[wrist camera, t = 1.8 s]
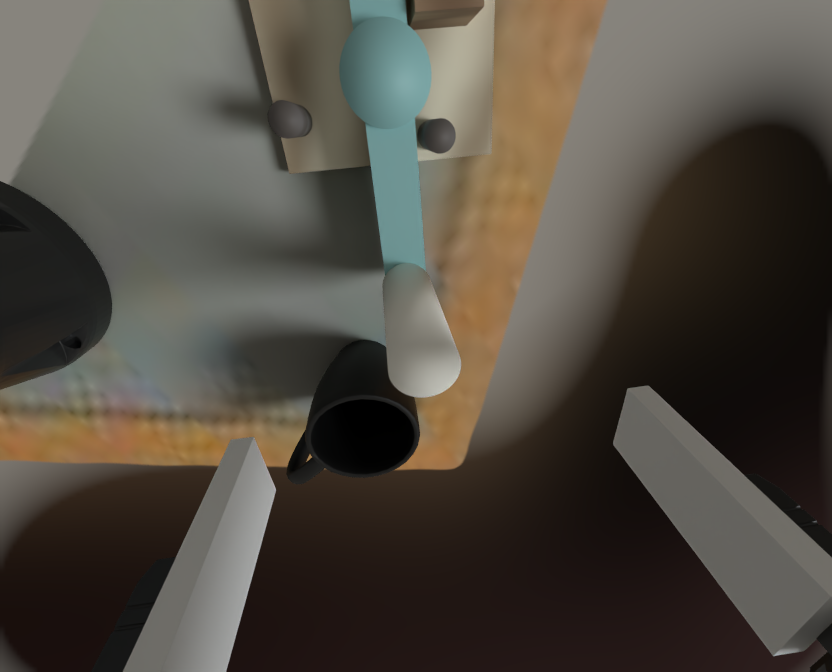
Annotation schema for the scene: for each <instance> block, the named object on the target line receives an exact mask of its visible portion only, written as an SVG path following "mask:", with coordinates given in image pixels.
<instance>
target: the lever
mask: <svg viewBox="0 0 832 672" xmlns="http://www.w3.org/2000/svg"><path fill="white" fill-rule="evenodd" d="M349 1H350V9H351V17H352V24H353V31H352V32H351V34H350V35H349V37H348V38H347V40H346V42H345V44H344V47H343V50H342V53H341V57H340V65H339V74H340V82H341V87H342V90H343V93H344V96H345V98H346V100H347V102H348V104H349V106H350V107H351V109H352V110H353V111H354V113H355V114H356V115H357V116H358V117H359V118H361V119H362V120H363V121H364V122H365V125H366V133H367V140H368V148H369V156H370V163H371V171H372V179H373V186H374V194H375V202H376V209H377V217H378V225H379V232H380V240H381V248H382V255H383V263H384V271H385V277H384V280H383V285H382V288H383V303H384V318H385V333H386V348H387V364H388V375H389V378H390V381H391V382H392V384H393V385H394V386H395V387H396V388H397V389H398V390H399V391H401V392H402V393H404V394H406V395H409V396H413V397H430V396H434V395H437V394H440V393H442V392H443V391H445V390H447V389H448V388H449V387H450V386H452V384H453V383H454V382H455V381H456V379H457V378H458V376H459V373H460V370H461V359H460V355H459V353H458V350H457V348H456V345H455V342H454V340H453V337H452V335H451V332H450V329H449V327H448V324H447V322H446V319H445V316H444V314H443V311H442V309H441V306H440V303H439V301H438V298H437V296H436V293H435V290H434V288H433V285H432V283H431V280H430V278H429V275H428V274H427V272H426V268H425V254H424V240H423V225H422V211H421V197H420V183H419V169H418V154H417V140H416V126H415V117H416V116H417V115H418V114H419V113H420V112H421V110H422V108H423V107H424V105H425V103H426V101H427V98H428V95H429V92H430V87H431V64H430V59H429V56H428V53H427V50H426V48H425V45H424V43H423V42H422V40H421V38H420V37H419V36H418V34H417V33H416V32H415V31H414V30H413V29H412V28H411V27H410V26H408V25H407V16H406V2H405V0H349Z"/></svg>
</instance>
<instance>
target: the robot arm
mask: <svg viewBox="0 0 832 672" xmlns="http://www.w3.org/2000/svg"><path fill="white" fill-rule="evenodd" d="M111 314H112V300H111V293H110V289H109V286H108V282H107V280H106V277H105V275H104V272H103V270H102V268H101V266H100V265H99V263H98V261H97V260H96V258H95V256H94V255H93V253H92V252H91V251H90V249H89V248H88V247H87V245H86V244H85V243H84V242H83V240H82V239H81V238H80V237H79V236H78V235H77V234H76V233H75V232H74V231H73V230H72V229H71V228H70V227H69V226H68V225H67V224H66V223H65V222H64V221H63V220H62V219H60V218H59V217H58V216H57V215H56V214H54V213H53V212H52V211H51V210H49V209H48V208H47V207H45V206H44V205H42V204H41V203H39V202H38V201H36V200H35V199H33V198H32V197H30V196H28V195H27V194H25V193H23V192H21V191H20V190H18V189H16V188H14V187H12V186H10V185H8V184H5V183H3V182H1V181H0V390H1V389H4V388H7V387H10V386H13V385H16V384H19V383H22V382H25V381H28V380H31V379H34V378H37V377H40V376H43V375H46V374H49V373H52V372H54V371H57V370H60V369H62V368H64V367H66V366H67V365H69V364H71V363H73V362H74V361H76V360H77V359H78V358H80V357H81V356H82V355H83V354H85V353H86V352H87V351H89V350H90V349H91V348H92V347H94V346H95V345H96V344H97V343H98V342H99V341H100V340H101V339H102V337H103V336H104V334H105V332H106V331H107V329H108V326H109V323H110V319H111ZM613 445H614V446H615V447H616V448H617V450H618V451H619V453H620V454H621V455H622V456H623V457H624V459H625V460H626V462H627V463H628V464H629V466H630V467H631V468H632V470H633V471H634V472H635V474H636V475H637V476H638V478H639V479H640V480H641V482H642V483H643V484H644V486H645V487H646V488H647V490H648V491H649V492H650V493H651V495H652V496H653V498H654V499H655V500H656V501H657V503H658V504H659V505H660V507H661V508H662V509H663V511H664V512H665V513H666V515H667V516H668V517H669V519H670V520H671V521H672V523H673V524H674V525H675V526H676V528H677V529H678V530H679V532H680V533H681V534H682V536H683V537H684V538H685V540H686V541H687V542H688V544H689V545H690V546H691V548H692V549H693V550H694V552H695V553H696V554H697V556H698V557H699V558H700V560H701V561H702V562H703V564H704V565H705V566H706V567H707V569H708V570H709V572H710V573H711V574H712V576H713V577H714V578H715V579H716V581H717V582H718V583H719V585H720V586H721V587H722V589H723V590H724V591H725V593H726V594H727V595H728V597H729V598H730V599H731V601H732V602H733V603H734V605H735V606H736V607H737V608H738V610H739V611H740V613H741V614H742V615H743V616H744V618H745V619H746V620H747V622H748V623H749V624H750V626H751V627H752V628H753V629H754V631H755V632H756V633H757V635H758V636H759V638H760V639H761V640H762V641H763V643H764V644H765V646H766V647H767V648H768V649H769V651H770V652H771V653H772V655H773V656H776V655H782V654H788V653H794V652H800V651H805V650H806V649H807V648H808V647H809V646H810V645H811V644H812V643H813V642H814V641H815V640H816V639H817V640H818V641H819V642H820V643H821V644H822V646H823V647H824V648H825V649H826V650H827V651H828V652H827V653H826V654H825V655H824V656H822V657H821V658H820V659H819V660H818V661H817V662H815V663H814V664H813V665H812V666H811V667H810V672H832V534H831V533H829V531H827V530H826V529H825V528H824V527H823V526H822V525H818V524H817V521H816V520H815V519H814V518H813V517H812V516H811V515H809V514H808V513H807V512H806V511H805V510H802V509H801V508H800V506H799V505H798V504H797V503H796V502H795V501H794V500H792V499H791V498H790V497H789V496H788V495H787V494H786V493H784V492H783V491H782V490H781V489H780V488H779V487H777V486H775V485H774V484H772V483H770V482H769V481H767V480H765V479H764V478H761V477H760V476H759V475H757V474H750V475H743V474H742V473H741V472H740V471H739V470H738V469H737V468H736V467H735V466H733V465H732V464H731V463H730V462H729V461H728V460H727V459H726V458H725V457H724V456H723V455H722V454H721V453H720V452H718V450H716V449H715V448H714V447H713V446H712V445H711V444H710V443H709V442H708V441H707V440H706V439H705V438H704V437H703V436H702V435H700V434H699V433H698V432H697V431H696V430H695V429H694V428H693V427H692V426H691V425H690V424H689V423H688V422H687V421H686V420H684V419H683V418H682V417H681V416H680V415H679V414H678V413H677V412H676V411H675V410H674V409H672V407H671V406H670V405H668V404H667V403H666V402H665V401H664V400H663V399H662V398H661V397H660V396H659V395H658V394H657V393H656V392H654V390H652V389H651V388H650V387H649V386H643V387H636V388H628V389H627V393H626V397H625V401H624V405H623V408H622V412H621V416H620V419H619V423H618V427H617V431H616V435H615V438H614V442H613ZM275 492H276V489H275V486H274V484H273V481H272V479H271V477H270V474H269V472H268V470H267V467H266V465H265V462H264V460H263V458H262V455H261V453H260V451H259V448H258V446H257V443H256V441H255V439H254V437H249V438H241V439H234V440H231V441H230V443H229V445H228V447H227V449H226V451H225V454H224V456H223V458H222V460H221V462H220V464H219V466H218V469H217V471H216V473H215V475H214V477H213V479H212V482H211V484H210V486H209V488H208V490H207V492H206V495H205V496H204V499H203V501H202V503H201V505H200V508H199V510H198V511H197V514H196V516H195V518H194V520H193V522H192V524H191V526H190V529H189V531H188V533H187V535H186V537H185V539H184V542H183V544H182V546H181V548H180V550H179V552H178V554H177V557H173V558H166V559H159V560H157V561H156V562H155V563H154V564H153V565H152V566H151V568H150V569H149V570H148V571H147V572H146V573H145V575H144V576H143V577H142V578H141V579H140V580H139V582H138V583H137V585H136V587H135V589H134V591H133V593H132V595H131V597H130V599H129V601H128V602H127V604H126V609H125V611H123V612H122V614H121V616H120V618H119V620H118V621H117V623H116V626H115V630H114V632H112V633H111V635H110V637H109V639H108V641H107V642H106V644H105V646H104V648H103V650H102V652H101V654H100V656H99V658H98V660H97V661H96V664H95V665H94V667H93V669H92V671H91V672H226V669H227V666H228V662H229V659H230V655H231V651H232V648H233V644H234V640H235V637H236V633H237V629H238V625H239V622H240V618H241V615H242V611H243V608H244V604H245V600H246V597H247V593H248V590H249V586H250V582H251V579H252V575H253V571H254V568H255V564H256V561H257V557H258V553H259V549H260V546H261V542H262V539H263V535H264V531H265V528H266V524H267V521H268V517H269V513H270V510H271V506H272V503H273V499H274V495H275Z"/></svg>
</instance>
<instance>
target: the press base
mask: <svg viewBox="0 0 832 672" xmlns="http://www.w3.org/2000/svg"><path fill="white" fill-rule="evenodd" d="M405 2H406V0H405ZM249 4H250V8H251V13H252V17H253V21H254V25H255V30H256V34H257V38H258V42H259V46H260V51H261V55H262V59H263V63H264V68H265V72H266V76H267V80H268V85H269V89H270V93H271V97H272V102H273V104H272V105H271V106H270V108H269V111H268V122H269V124H270V127H271V128H272V130H273V131H274V132H275V133H276V134H277V135H278V136H280V137H281V140H282V144H283V148H284V152H285V157H286V161H287V165H288V169H289V174H293V173H303V172H313V171H323V170H334V169H344V168H354V167H364V166H371V163H370V156H369V148H368V140H367V133H366V125H365V122H364V121H363V120H362V119H361V118H359V117H358V116H357V115H356V114H355V113H354V111H353V110H352V109H351V107H350V106H349V104H348V102H347V100H346V98H345V96H344V93H343V90H342V87H341V82H340V74H339V65H340V57H341V53H342V50H343V47H344V44H345V42H346V40H347V38H348V37H349V35H350V34H351V32H352V31H353V24H352V17H351V9H350V1H349V0H249ZM494 10H495V0H484V7H483V8H482V9H481V11H480V12H479V13H478V14H477V15H476V16H475V17H474V18H473V19H472V20H471V21H470V22H469V23H468V25H467V26H457V27H445V28H432V29H420V30H414V31H415V32H416V33H417V34H418V36H419V37H420V38H421V40H422V42H423V43H424V45H425V48H426V50H427V53H428V56H429V59H430V64H431V87H430V92H429V95H428V98H427V101H426V103H425V105H424V107H423V108H422V110H421V112H420V113H419V114H418V115H417V116H416V117H415V126H416V140H417V154H418V161H425V160H435V159H445V158H455V157H465V156H475V155H485V154H491V149H492V103H493V56H494ZM406 16H407V3H406ZM407 25H408V17H407Z"/></svg>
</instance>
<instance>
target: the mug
mask: <svg viewBox="0 0 832 672" xmlns="http://www.w3.org/2000/svg"><path fill="white" fill-rule="evenodd" d="M419 437H420V430H419V422H418V416H417V409H416V404H415V398H414V397H413V396H409V395H406V394H404V393H402V392H401V391H399V390H398V389H397V388H396V387H395V386H394V385H393V384H392V382H391V381H390V378H389V375H388V364H387V348H386V347H385V346H384V345H382V344H380V343H377V342H374V341H367V340H363V341H357V342H354V343H351V344H349V345H347V346H346V347H344V348H343V349H342V350H341V351H340V353H339V354H338V356H337V357H336V358H335V360H334V361H333V362H332V363H331V365H330V366H329V368H328V369H327V371H326V372H325V374H324V376H323V377H322V379H321V381H320V383H319V385H318V387H317V389H316V392H315V394H314V397H313V401H312V404H311V408H310V412H309V417H308V421H307V426H306V430H305V432H304V433H303V435H302V437H301V439H300V440H299V442H298V444H297V446H296V448H295V450H294V452H293V454H292V456H291V458H290V461H289V463H288V467H287V473H286V474H287V477H288V479H289V480H290V481H291V482H292V483H295V484H303V483H305V482H307V481H309V480H310V479H312V478H313V477H314V476H316V475H317V474H318V473H320V472H321V471H322V470H323V469H324V468H326V469H327V470H329V471H331V472H334V473H337V474H340V475H343V476H348V477H363V478H365V477H373V476H379V475H382V474H385V473H388V472H390V471H392V470H395V469H397V468H398V467H400V466H401V465H402V464H404V463H405V462H406V461H407V460H408V459H409V458H410V457H411V456H412V455H413V453H414V452H415V450H416V448H417V446H418V442H419ZM309 454H311V456H312V458H311V459H310V460H309V461H307V458H308V456H309ZM306 461H307V462H306Z"/></svg>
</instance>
